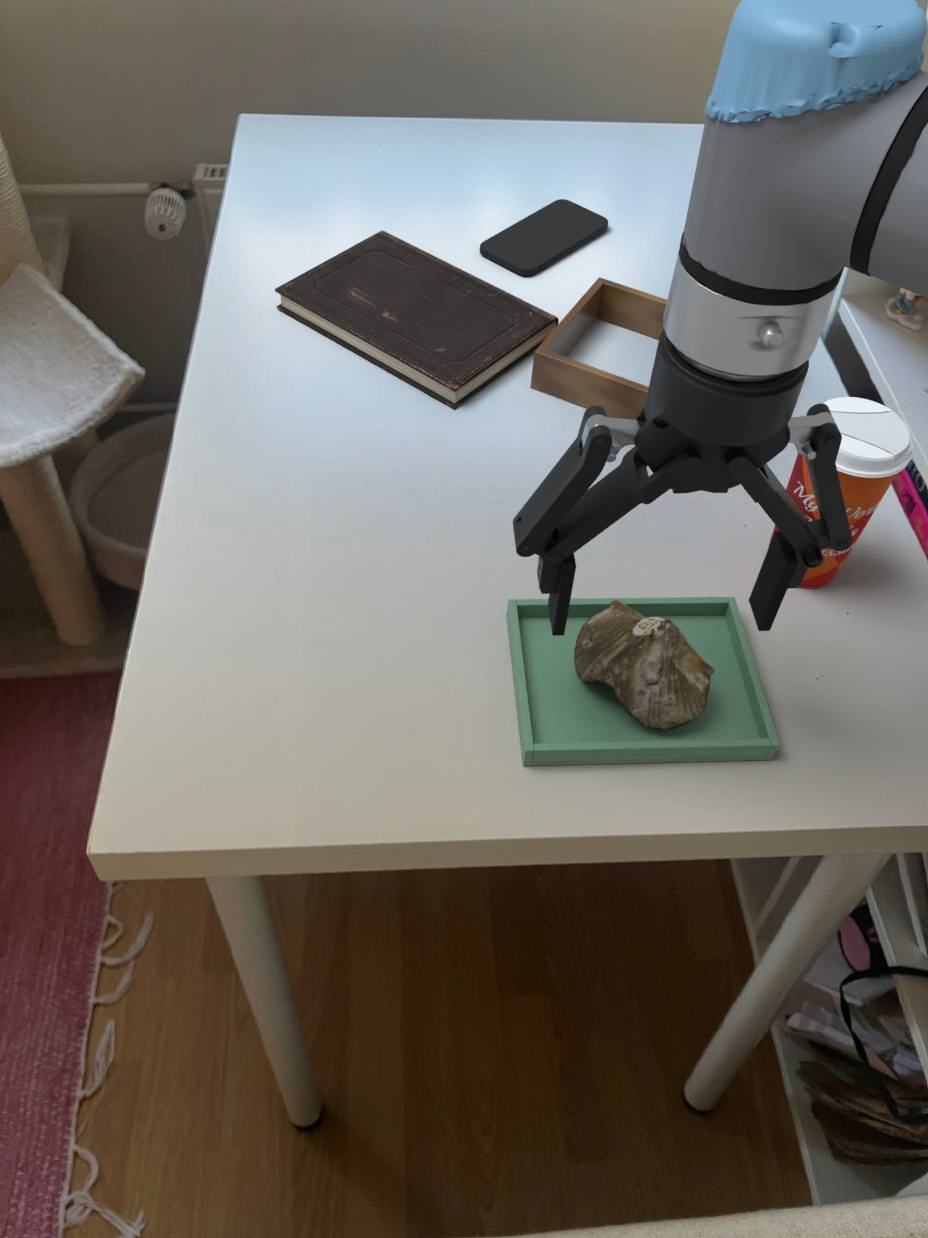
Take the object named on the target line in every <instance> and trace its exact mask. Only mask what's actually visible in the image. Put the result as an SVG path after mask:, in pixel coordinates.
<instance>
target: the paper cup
mask: <svg viewBox="0 0 928 1238" xmlns="http://www.w3.org/2000/svg"><path fill="white" fill-rule="evenodd" d="M822 404H826V405H827V406H828V407H829V410H830V412H831V414H832V416H833V418H834V420H835V422H836V425H837V427H838V429H839V431H840V433H841V435H842V440H841V444H840V448H839V451H838V455H837V459H836V468H837V472H838V477H839V481H840V486H841V490H842V495H843V499H844V504H845V509H846V513H847V518H848V522H849V527H850V531H851V536H852V540H853V543H852V545H851V547H849V548H848V549H846V550H844V551H835V550H834V549H833V548H832V547H830V548H826V549H823V550H821V553H822V555H823V558H824V561H823V563H822V564H821V565H820V566H818V567H816V568H808V569H807V571H806V574H805V576H804V578H803V581H802V583H801V584H800V585H799V586H798V587H797V588H801V589H802V588H803V589H817V588H821V587H824V586H826V585H827V584H829V583H831V581H832V580H833V579H834V577H835V576H836V575H837V573H838V572H839V570H840V569H841V567H842V566H843V564H844V563H845V561H846V559H847V558H848V556H849V554H850V553H851V551H852V549H853V547H854V546H855V544H856V543H857V541H858V540H859V538H860V537H861V534H862V533H863V531H864V530H865V528H866V526H867V524H868V523H869V521H870V520H871V518H872V516H873V514H874V513H875V511H876V510H877V508H878V506H879V505H880V503H881V501H882V499H883V498H884V497H885V494H886V493H887V491H888V490H889V488H890V486H891V485H892V483H893V481H894V479H895V478H896V476H897V474H898V473H900V472H901V471H903V470H904V469H905V468H907V466H908V465H909V463H910V462H911V461H912V459H913V458H914V447H913V446H914V442H913V441H914V440H913V436H912V434H911V433H910V430H909V427H908V425H907V423H905V421H904V420H903V419H902V418H901V417H900V416H899V415H898V414H897V413H896V412H895V411H894V410H892V409H891V408H889V407H887V406H886V405H884V404H882V403H879V402H877V401H874V400H871V399H867V398H862V397H858V396H857V397H855V396H840V397H834V398H830V399H828V400H825V401H824V402H823V403H822ZM792 467H793V468H792V470H791V473H790V477H789V479H788V482H787V486H786V488H785V489H786V491H787V492H788V493H789V495H790V496H791V497H792V499H793V500H794V501H795V503H796V504H797V505H798V507H799V508H800V509H801V511H802V512H803V514H804V515H805V516H806V518H807V519H808V520H809V521H813V520H817V519H821V518H820V514H819V510H818V506H817V502H816V498H815V494H814V490H813V486H812V482H811V479H810V475H809V471H808V467H807V463H806V459H805V455H800V454H799V453H798V452H797V455H796V458H795V461H794V464H793V466H792ZM775 531H780V530H779V529H778V528H777V526H776V525H775V524H774V527H773V531H772V533H771V537H770V540H769V544H768V548H769V545H770V543H771V540H772V538H773V535H774V532H775ZM768 548H767V549H768Z"/></svg>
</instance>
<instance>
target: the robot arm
mask: <svg viewBox="0 0 928 1238" xmlns="http://www.w3.org/2000/svg"><path fill="white" fill-rule="evenodd" d="M927 35H928V20H927V14H926V13H925V10H924V9H923V8H922V6H921V5H920V4H919V2H918V1H917V0H741V1H740V2H739V3H738V5H737V7H736V9H735V10H734V13H733V15H732V17H731V21H730V24H729V28H728V31H727V35H726V39H725V43H724V45H723V49H722V53H721V57H720V61H719V65H718V68H717V72H716V75H715V79H714V83H713V86H712V90H711V93H710V95H709V96H708V97H707V101H706V102H705V107H704V114H705V121H704V126H703V131H702V134H701V135H702V136H701V140H700V147H699V150H698V156H697V161H696V166H695V171H694V176H693V183H692V187H691V192H690V196H689V197H690V198H689V201H688V207H687V213H686V217H685V218H686V219H685V222H684V228H683V231H682V234H681V238H680V241H679V242H680V243H679V249H678V253H677V257H676V260H675V261H676V262H675V266H674V269H673V273H672V278H671V281H670V282H671V283H670V287H669V291H668V295H667V298H666V299H667V303H666V308H665V312H664V317H663V326H664V329H663V331H662V332H661V335H660V338H659V339H658V342H657V346H656V351H655V357H654V361H653V366H652V371H651V375H650V380H649V384H648V387H649V388H648V394H647V400H646V404H645V406H644V408H643V409H642V411H641V412H640V413H639V414H638V415H637V416H636V417H635V419H622V418H612V417H609V416H607V415H606V411H605V409H604V408H603V407H601V406H598V405H597V406H591V407H589V408H586V410H584V413H583V416H582V419H581V422H580V426H579V429H578V431H577V436H576V438H575V439H574V441H572V443H571V444H570V445H569V447H568V448H567V449H566V450H565V452H564V453H563V455H562V456H561V457H560V458H559V460H558V461H557V462H556V464H555V465H554V466H553V467H552V468H551V470H550V471H549V472H548V474H547V475H546V476H545V478H543V480H542V481H541V482H540V484H539V485H538V487H537V488H536V489H535V490H534V492H533V493H532V494H531V496H530V497H529V498H528V500H527V501H526V502H525V503H524V505H523V506H522V507H521V508H520V510H519V511H518V512H517V514H516V515H515V516H514V517H513V519H512V528H513V529H512V531H513V537H514V538H513V539H514V546H515V552H516V554H517V556H520V557H522V558H530V557H532V556H533V555H537V556H538V562H537V569H536V574H537V582H538V589H539V590H540V593H541V594H542V595H548V599H549V600H548V608H549V615H550V622H551V628H552V635H553V636H559V635H564V633H565V627H566V622H567V616H568V610H569V605H570V599H572V592H573V588H574V587H573V586H574V582H575V575H576V571H577V562H576V556H575V553H576V552H577V551H579V550H580V549H581V548H582V547H584V546H585V545H587V544H588V543H589V542H591V541H592V540H593V539H595V538H596V537H598V536H599V535H600V534H601V533H603V532H604V531H605V530H607V529H608V528H609V527H611V526H612V525H614V524H615V523H616V522H618V521H619V520H620V519H622V518H623V517H625V516H626V515H627V514H628V513H630V512H631V511H633V510H634V509H635V508H637V507H638V506H640V505H641V504H642V505H643V504H644V505H650V504H651V503H653V502H654V501H656V500H657V499H659V498H660V497H662V496H663V495H664V494H665V493H667V492H668V491H669V490H671V491H672V494H676V495H677V494H690V493H696V492H700V491H701V492H702V491H703V492H707V493H713V494H727V493H728V492H729V490H730V489H733V488H735V487H738V486H739V485H741V487H742V488H743V489H744V490H745V492H746V493H747V494H748V496H749V497H750V498H751V499H752V500H753V502H754V503H755V504H758V505H759V506H760V508H761V509H762V510H763V511H764V513H765V514H766V515H767V516H768V517H769V519H770V520H771V522H773V524H774V526H775V525H776V526H777V528H778V529H779V530H780V531H775V532H774V535H773V538H772V540H771V539H770V540H771V543H770V542H769V543H770V545H769V544H768V547H769V548H767V552H766V554H765V555H764V558H763V562H762V564H761V566H760V569H759V571H758V574H757V577H756V580H755V581H754V585H753V588H752V590H751V593H750V596H749V598H748V603H749V606H750V609H751V612H752V615H753V618H754V622H755V625H756V627H757V631H758V632H770V631H771V630H772V627H773V624H774V622H775V619H776V618H777V614H778V613H779V610H780V607H781V606H782V603H783V601H784V598H785V595H786V593H787V592H788V589H789V590H790V589H797V588H799V587H798V586H799V585H800V584H801V583H802V581H803V578H804V576H805V574H806V571H807V569H808V568H816V567H818V566H820V565H821V564H822V563H823V561H824V558H823V555H822V553H821V550H823V549H826V548H830V547H832V548H833V549H834V550H835V551H844V550H846V549H848V548H849V547H851V545H852V543H853V540H852V536H851V531H850V527H849V522H848V518H847V513H846V509H845V504H844V499H843V495H842V490H841V486H840V481H839V477H838V472H837V468H836V459H837V455H838V451H839V448H840V444H841V440H842V435H841V433H840V431H839V429H838V427H837V425H836V422H835V420H834V418H833V416H832V414H831V412H830V410H829V407H828V406H827V405H826V404H822V403H820V402H819V403H816V404H814V405H812V406H810V407H809V409H808V410H807V412H806V415H801V416H793V414H794V412H795V408H796V406H797V402H798V401H799V397H800V394H801V392H802V389H803V386H804V384H805V380H806V377H807V374H808V372H809V368H810V359H811V357H812V356H813V353H814V351H815V350H816V347H817V345H818V342H819V340H820V336H821V334H822V331H823V328H824V325H825V322H826V319H827V317H828V314H829V311H830V309H831V305H832V302H833V300H834V297H835V294H836V291H837V290H838V289H837V288H838V286H839V283H840V281H841V278H842V275H843V272H844V269H845V268H847V269H850V270H852V271H854V272H857V273H859V274H862V275H865V276H867V277H873V278H876V279H878V280H880V281H884V282H886V283H888V284H891V285H893V286H896V287H899V288H901V289H904V290H907V291H909V292H911V293H914V294H917V295H919V296H922V297H924V298H927V299H928V72H926V71H924V70H923V69H921V68H922V66H923V64H924V62H925V52H924V45H925V43H926V39H927ZM789 444H793V445H794V447H795V449H796V451H797V454H798V453H799V454H800V455H805V459H806V463H807V467H808V471H809V475H810V479H811V482H812V486H813V490H814V494H815V498H816V502H817V506H818V510H819V514H820V518H821V519H817V520H813V521H809V520H808V519H807V518H806V516H805V515H804V514H803V512H802V511H801V509H800V508H799V507H798V505H797V504H796V503H795V501H794V500H793V499H792V497H791V496H790V495H789V493H788V492H787V491H786V488H785V487H784V485H783V484H782V483H781V481H780V479H778V477H777V476H776V474H775V473H774V472H773V470H772V469H771V467H770V466H769V465H768V463H769V462H770V461H772V460H774V458H775V457H777V456H778V455H779V454H781V453H782V452H783V451H784V450H785V449H786V448H787V446H788V445H789ZM630 445H631V446H632V445H634V446H633V447H632V448H630V449H629V450H628V451H627V452H626V453H624V455H623V457H622V459H621V462H620V464H619V465H618V466H616V467H615V468H614V469H612V470H611V471H610V472H609V473H608V474H606V475H605V476H604V477H602V478H601V479H600V480H598V481H597V479H598V478H599V477H600V475H601V473H602V471H603V470H604V468H605V466H606V464H607V463H614V462H615V461H616V460H617V455H618V454H619V452H620V451H621V450H622V449H623V448H624V447H626V446H630ZM648 468H649V469H650V471H651V473H652V474H650V475H649V472H648ZM596 481H597V482H596ZM595 482H596V483H595Z"/></svg>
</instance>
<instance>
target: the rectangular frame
mask: <svg viewBox="0 0 928 1238" xmlns="http://www.w3.org/2000/svg"><path fill="white" fill-rule="evenodd" d="M667 299H668V298H663V297H661V296H657V295H655V294H652V293H648V292H645V291H642V290H639V289H637V288H634V287H630V286H628V285H624V284H622V283H618V282H615V281H612V280H609V279H607V278H603V277H601V276H600V277H598V278H597V279H596V280H595V281H594V283H593V284H592V285H591V286H590V287H589V288H588V290H587V291H585V293H584V294H583V295H582V296H581V298H580V299H579V300H578V301H577V302H576V303H575V304H574V306H573V307H572V308H571V309H570V310H569V311H568V313H567V314H566V315H565V316H564V317H563V318H562V319H561V321H560V322H558V325H557V326H556V327H555V329H554V330H553V331H552V332H551V333H550V334H549V336H548V337H547V338H546V339H545V340H544V341H543V342H542V344H541V345H540V346H539V347H538V348H537V349H536V350H535V351H534V352H533V353H534V355H533V362H532V370H531V379H530V386H529V387H530V388H532V389H533V390H537V391H539V392H542V393H545V394H547V395H550V396H553V397H556V398H558V399H560V400H564V401H567V402H568V403H572V404H574V405H577V406H580V407H582V408H584V409H588V408H589V407H591V406H597V405H598V406H601V407H603V408H604V409H605V411H606V415H607V417H610V418H622V419H635V417H636V416H637V415H638V414H639V413H640V412H641V411H642V409H643V408H644V406H645V404H646V400H647V394H648V388H649V386H647V385H645V384H642V383H639V382H636V381H633V380H630V379H628V378H625V377H622V376H620V375H616V374H614V373H612V372H608V371H606V370H603V369H600V368H598V367H594V366H592V365H589V364H587V363H583V362H580V361H578V360H576V359H572V358H569V357H567V355H568V354H569V353H570V351H571V350H572V349H573V348H574V347H575V345H576V344H578V342H579V341H580V339H581V338H582V337H583V336H584V335H585V334H586V332H587V331H588V330H589V329H590V328H591V326H592V325H593V324H594V322H596V320H597V319H598V320H600V321H604V322H607V323H609V324H612V325H615V326H618V327H621V328H624V329H626V330H630V331H633V332H636V333H638V334H642V335H645V336H648V337H650V338H653V339H655V340H656V339H657V340H659V338H660V335H661V332H662V331H663V329H664V326H663V317H664V312H665V308H666V303H667Z"/></svg>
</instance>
